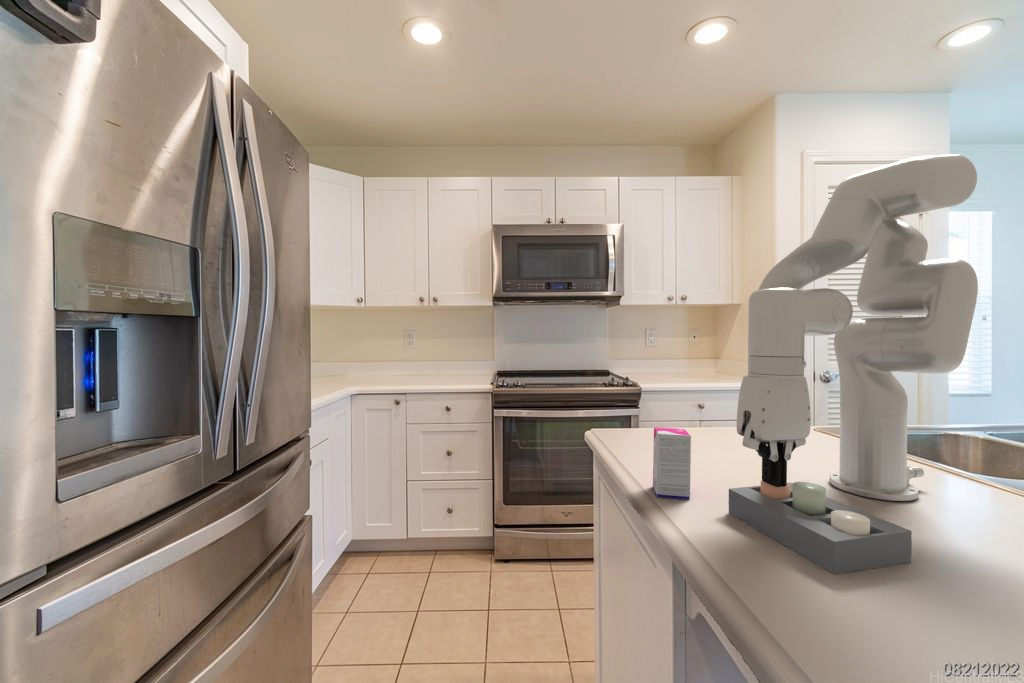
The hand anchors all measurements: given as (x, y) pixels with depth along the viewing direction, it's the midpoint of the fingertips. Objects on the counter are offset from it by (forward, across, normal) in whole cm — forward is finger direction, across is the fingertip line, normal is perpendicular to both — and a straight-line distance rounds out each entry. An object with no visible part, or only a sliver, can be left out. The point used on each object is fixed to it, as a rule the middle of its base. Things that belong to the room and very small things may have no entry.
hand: (773, 483), depth 67 cm
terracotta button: (+4, 0, 0) cm, 4 cm away
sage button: (+2, 0, +6) cm, 6 cm away
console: (+5, 0, +6) cm, 8 cm away
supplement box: (+6, +10, -13) cm, 17 cm away
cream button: (+4, 0, +12) cm, 13 cm away
